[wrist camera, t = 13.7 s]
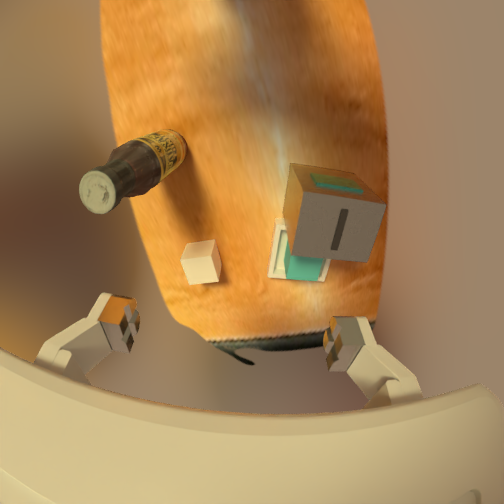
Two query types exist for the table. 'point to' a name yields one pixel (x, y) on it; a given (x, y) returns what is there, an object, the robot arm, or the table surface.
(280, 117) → the table surface
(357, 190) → the dispenser
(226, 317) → the table surface
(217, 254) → the cream block
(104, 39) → the table surface
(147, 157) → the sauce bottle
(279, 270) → the tray
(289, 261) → the teal block
